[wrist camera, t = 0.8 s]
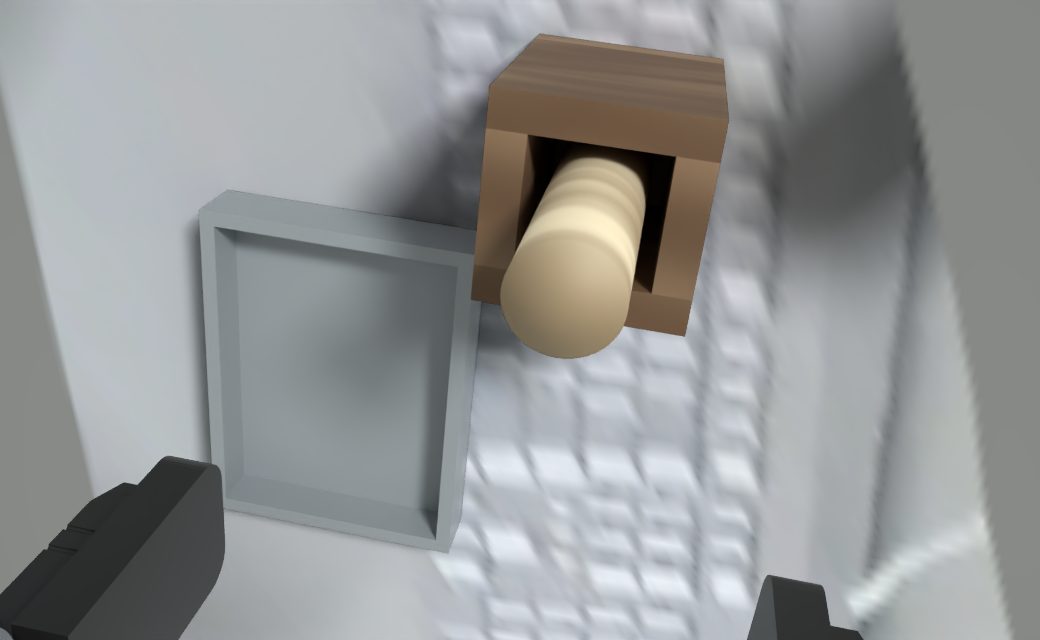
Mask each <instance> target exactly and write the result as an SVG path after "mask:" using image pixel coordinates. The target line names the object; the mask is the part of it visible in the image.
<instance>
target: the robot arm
mask: <svg viewBox="0 0 1040 640" xmlns="http://www.w3.org/2000/svg"><path fill="white" fill-rule="evenodd" d="M224 553H225V533H224V512H223V490H222V475H221V471H220V469H219V467H218V466H217V465H214V464H209V463H204V462H199V461H194V460H189V459H183V458H178V457H173V456H166V457H164V458H162V459H161V460H160V461H159V462H158V463H157V464H156V465H155V466H154V468H153V469H152V470H151V471H150V472H149V473H148V474H147V475H146V476H145V477H144V479H143V480H142V481H141V482H140V483H139V484H138V485H134V484H129V483H122V484H120V485H118V486H117V487H115V488H113V489H111V490H109V491H107V492H106V493H104V494H102V495H100V496H98V497H97V498H95V499H93V500H91V501H90V502H89V503H88V504H87V505H86V506H85V507H84V508H83V509H82V510H81V511H80V512H79V513H78V514H77V516H75V518H74V519H73V520H72V521H71V522H70V523H69V524H68V526H67V529H66V530H62V531H61V532H60V533H59V534H58V535H57V536H56V538H54V539H53V540H52V541H51V542H50V544H49V547H48V549H47V550H45V549H44V550H43V551H42V552H41V553H40V554H39V555H38V556H37V557H36V558H35V559H34V560H33V561H32V562H31V563H30V564H29V565H28V566H27V567H26V568H25V569H24V571H23V572H22V573H21V574H20V575H19V576H18V577H17V578H16V579H15V580H14V581H13V582H12V583H11V584H10V585H9V586H8V587H7V588H6V589H5V590H4V591H3V592H2V593H1V594H0V640H178V639H179V638H180V636H181V635H182V633H183V632H184V630H185V629H186V627H187V626H188V624H189V623H190V621H191V620H192V618H193V617H194V615H195V614H196V613H197V611H198V610H199V608H200V607H201V605H202V604H203V602H204V601H205V599H206V598H207V596H208V595H209V593H210V592H211V590H212V589H213V587H214V585H215V583H216V581H217V579H218V577H219V574H220V571H221V568H222V564H223V560H224ZM747 640H863V638H862V637H861V635H860V634H859V632H858V631H854V630H849V629H844V628H839V627H834V626H830V621H829V615H828V608H827V602H826V596H825V591H824V588H823V587H822V586H821V585H818V584H813V583H808V582H803V581H798V580H793V579H788V578H782V577H777V576H772V575H767V576H766V578H765V580H764V583H763V586H762V589H761V592H760V596H759V599H758V603H757V606H756V610H755V614H754V617H753V621H752V624H751V628H750V631H749V635H748V638H747Z"/></svg>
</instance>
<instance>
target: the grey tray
mask: <svg viewBox="0 0 1040 640" xmlns="http://www.w3.org/2000/svg"><path fill="white" fill-rule="evenodd" d="M199 225H200V245H201V264H202V283H203V303H204V322H205V341H206V361H207V380H208V399H209V419H210V438H211V457H212V464H214V465H217V466H218V467H219V469H220V471H221V475H222V490H223V508H224V509H229V510H234V511H239V512H244V513H249V514H254V515H259V516H264V517H269V518H274V519H279V520H284V521H289V522H294V523H299V524H304V525H309V526H314V527H319V528H324V529H329V530H334V531H339V532H344V533H349V534H354V535H359V536H364V537H369V538H374V539H379V540H384V541H389V542H394V543H399V544H404V545H409V546H414V547H418V548H423V549H428V550H433V551H438V552H443V553H449V550H450V547H451V545H452V542H453V539H454V537H455V534H456V531H457V528H458V526H459V523H460V520H461V514H462V504H463V493H464V482H465V472H466V461H467V450H468V440H469V429H470V419H471V408H472V397H473V387H474V376H475V366H476V355H477V344H478V334H479V323H480V312H481V302H480V301H474V300H471V290H472V278H473V267H474V256H475V244H476V233H477V230H472V229H465V228H459V227H453V226H447V225H441V224H435V223H428V222H422V221H416V220H410V219H404V218H398V217H391V216H385V215H379V214H373V213H367V212H361V211H354V210H348V209H342V208H336V207H330V206H324V205H317V204H311V203H305V202H299V201H293V200H286V199H280V198H274V197H268V196H262V195H256V194H249V193H243V192H237V191H231V190H227V191H225V192H224V193H222V194H221V195H219V196H218V197H216V198H215V199H213V200H212V201H210V202H209V203H208V204H206V205H205V206H203V207H202V208H200V209H199Z"/></svg>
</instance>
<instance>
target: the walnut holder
mask: <svg viewBox="0 0 1040 640" xmlns="http://www.w3.org/2000/svg"><path fill="white" fill-rule="evenodd" d="M728 123H729V114H728V103H727V92H726V82H725V71H724V61H723V59H720V58H712V57H705V56H698V55H691V54H683V53H676V52H669V51H662V50H654V49H647V48H640V47H633V46H625V45H618V44H611V43H604V42H596V41H589V40H582V39H574V38H567V37H560V36H553V35H545V34H539V35H538V36H537V37H536V38H535V39H534V40H533V41H532V42H531V43H530V44H529V45H528V46H527V47H526V48H525V49H524V50H523V52H522V53H521V54H520V55H519V56H518V57H517V58H516V59H515V60H514V61H513V62H512V63H511V64H510V65H509V66H508V67H507V68H506V69H505V70H504V71H503V72H502V73H501V74H500V75H499V76H498V77H497V78H496V79H495V80H494V82H493V83H492V84H491V85H490V86H489V97H488V109H487V120H486V131H485V142H484V154H483V165H482V176H481V188H480V199H479V210H478V222H477V233H476V244H475V256H474V267H473V278H472V290H471V300H474V301H480V302H485V303H491V304H497V305H501V300H500V293H501V285H502V281H503V278H504V276H505V273H506V271H507V269H508V267H509V265H510V263H511V261H512V259H513V257H514V255H515V253H516V251H517V249H518V247H519V245H520V243H521V241H522V239H523V236H524V234H525V232H526V230H527V228H528V226H529V224H530V222H531V220H532V218H533V216H534V214H535V212H536V210H537V208H538V206H539V204H540V201H541V199H542V197H543V195H544V193H545V191H546V189H547V187H548V185H549V183H550V181H551V179H552V177H553V175H554V173H555V171H556V169H557V166H558V164H559V162H560V160H561V158H562V156H563V154H564V152H565V150H566V148H567V146H568V144H569V142H570V141H575V142H582V143H588V144H595V145H602V146H609V147H615V148H622V149H629V150H635V151H642V152H649V153H655V157H654V163H653V168H652V174H651V180H650V186H649V192H648V197H647V203H646V209H645V215H644V221H643V227H642V232H641V238H640V244H639V250H638V256H637V262H636V267H635V273H634V279H633V285H632V291H631V297H630V302H629V308H628V313H627V318H626V321H625V323H624V326H626V327H632V328H638V329H644V330H650V331H656V332H661V333H667V334H673V335H679V336H685V333H686V329H687V324H688V319H689V314H690V309H691V304H692V299H693V294H694V290H695V285H696V280H697V275H698V270H699V265H700V260H701V255H702V250H703V246H704V241H705V236H706V231H707V226H708V221H709V216H710V211H711V206H712V202H713V197H714V192H715V187H716V182H717V177H718V172H719V167H720V162H721V158H722V153H723V148H724V143H725V138H726V133H727V128H728Z"/></svg>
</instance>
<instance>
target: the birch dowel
mask: <svg viewBox="0 0 1040 640" xmlns="http://www.w3.org/2000/svg"><path fill="white" fill-rule="evenodd" d="M654 157H655V153H649V152H642V151H635V150H629V149H622V148H615V147H609V146H602V145H595V144H588V143H582V142H575V141H570V142H569V144H568V146H567V148H566V150H565V152H564V154H563V156H562V158H561V160H560V162H559V164H558V166H557V169H556V171H555V173H554V175H553V177H552V179H551V181H550V183H549V185H548V187H547V189H546V191H545V193H544V195H543V197H542V199H541V201H540V204H539V206H538V208H537V210H536V212H535V214H534V216H533V218H532V220H531V222H530V224H529V226H528V228H527V230H526V232H525V234H524V236H523V239H522V241H521V243H520V245H519V247H518V249H517V251H516V253H515V255H514V257H513V259H512V261H511V263H510V265H509V267H508V269H507V271H506V273H505V276H504V278H503V281H502V285H501V293H500V300H501V307H502V311H503V315H504V317H505V320H506V322H507V324H508V325H509V327H510V329H511V330H512V331H513V333H514V334H515V335H516V336H517V337H518V338H519V339H520V340H521V341H522V342H523V343H524V344H526V345H527V346H529V347H530V348H532V349H533V350H535V351H537V352H539V353H542V354H545V355H547V356H551V357H555V358H563V359H573V358H581V357H585V356H589V355H591V354H594V353H596V352H598V351H600V350H602V349H603V348H605V347H606V346H608V345H609V344H610V343H611V342H612V341H613V340H614V339H615V338H616V337H617V335H618V334H619V333H620V331H621V329H622V328H623V326H624V323H625V321H626V318H627V313H628V308H629V302H630V297H631V291H632V285H633V279H634V273H635V267H636V262H637V256H638V250H639V244H640V238H641V232H642V227H643V221H644V215H645V209H646V203H647V197H648V192H649V186H650V180H651V174H652V168H653V163H654Z"/></svg>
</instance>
